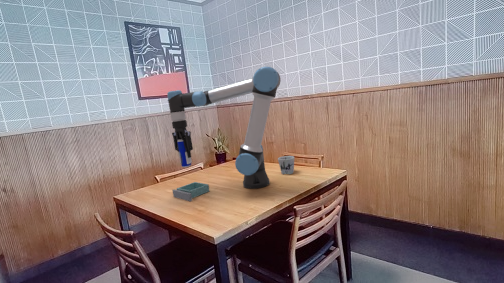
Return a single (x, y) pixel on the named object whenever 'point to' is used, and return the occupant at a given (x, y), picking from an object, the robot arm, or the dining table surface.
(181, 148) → the beverage can
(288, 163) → the mug
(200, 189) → the teal open drawer
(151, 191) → the dining table surface
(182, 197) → the block
